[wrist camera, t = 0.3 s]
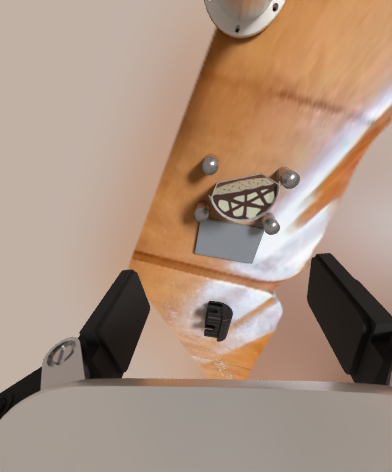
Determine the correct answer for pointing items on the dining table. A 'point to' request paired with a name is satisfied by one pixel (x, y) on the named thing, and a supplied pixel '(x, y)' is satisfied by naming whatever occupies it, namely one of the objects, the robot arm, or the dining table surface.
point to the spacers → (268, 220)
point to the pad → (228, 240)
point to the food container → (245, 197)
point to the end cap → (217, 320)
